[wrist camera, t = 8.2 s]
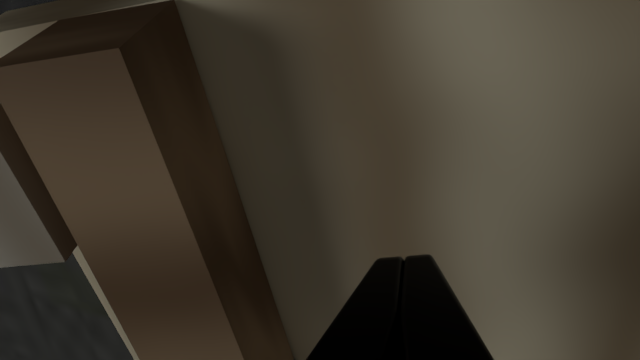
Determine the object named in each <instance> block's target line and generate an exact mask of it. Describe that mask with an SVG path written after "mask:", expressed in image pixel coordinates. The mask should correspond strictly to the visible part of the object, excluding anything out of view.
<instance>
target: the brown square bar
mask: <svg viewBox="0 0 640 360" xmlns="http://www.w3.org/2000/svg"><path fill="white" fill-rule="evenodd" d="M0 103H1V105H2V106H3V108H4V110H5V112H6V114H7V116H8V118H9V119H10V121H11V123H12V125H13V127H14V129H15V130H16V132H17V134H18V136H19V138H20V140H21V142H22V143H23V145H24V147H25V149H26V151H27V153H28V154H29V156H30V158H31V160H32V162H33V164H34V166H35V167H36V169H37V171H38V173H39V175H40V177H41V178H42V180H43V182H44V184H45V186H46V188H47V190H48V191H49V193H50V195H51V197H52V199H53V201H54V203H55V204H56V206H57V208H58V210H59V212H60V214H61V215H62V217H63V219H64V221H65V223H66V225H67V227H68V228H69V230H70V232H71V234H72V236H73V238H74V239H75V241H76V243H77V245H78V247H79V249H80V251H81V252H82V254H83V256H84V258H85V260H86V262H87V263H88V265H89V267H90V269H91V271H92V273H93V275H94V276H95V278H96V280H97V282H98V284H99V286H100V287H101V289H102V291H103V293H104V295H105V297H106V299H107V300H108V302H109V304H110V306H111V308H112V310H113V311H114V313H115V315H116V317H117V319H118V321H119V323H120V324H121V326H122V328H123V330H124V332H125V334H126V335H127V337H128V339H129V341H130V343H131V345H132V347H133V348H134V350H135V352H136V354H137V356H138V358H139V359H140V360H295V359H294V357H293V354H292V351H291V348H290V345H289V342H288V339H287V336H286V333H285V330H284V327H283V324H282V321H281V318H280V315H279V312H278V309H277V306H276V303H275V300H274V297H273V294H272V291H271V288H270V285H269V282H268V279H267V276H266V273H265V270H264V267H263V264H262V261H261V258H260V255H259V252H258V249H257V246H256V243H255V240H254V237H253V234H252V231H251V228H250V225H249V222H248V219H247V216H246V213H245V210H244V207H243V204H242V201H241V198H240V195H239V192H238V189H237V186H236V183H235V180H234V177H233V174H232V171H231V168H230V165H229V162H228V159H227V156H226V153H225V150H224V147H223V144H222V141H221V138H220V135H219V132H218V129H217V126H216V123H215V120H214V117H213V114H212V111H211V108H210V105H209V102H208V99H207V96H206V93H205V90H204V87H203V84H202V81H201V78H200V75H199V72H198V69H197V66H196V63H195V60H194V57H193V54H192V51H191V48H190V45H189V42H188V39H187V36H186V33H185V30H184V27H183V24H182V21H181V18H180V15H179V12H178V9H177V6H176V3H175V0H169V1H163V2H158V3H152V4H146V5H141V6H135V7H129V8H124V9H118V10H112V11H107V12H101V13H95V14H90V15H84V16H78V17H73V18H67V19H61V20H58V21H57V22H55V23H54V24H52V25H51V26H49V27H48V28H46V29H45V30H43V31H41V32H40V33H38V34H37V35H35V36H34V37H32V38H31V39H29V40H28V41H26V42H25V43H23V44H21V45H20V46H18V47H17V48H15V49H14V50H12V51H11V52H9V53H8V54H6V55H5V56H3V57H1V58H0Z"/></svg>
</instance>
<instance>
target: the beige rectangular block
mask: <svg viewBox="0 0 640 360" xmlns="http://www.w3.org/2000/svg"><path fill="white" fill-rule="evenodd" d="M163 1H169V0H57V1H53V2H48V3H43V4H38V5H34V6H29V7H24V8H19V9H15V10H10V11H7V12H5V13H3V14H1V15H0V58H1V57H3V56H5V55H6V54H8V53H9V52H11V51H12V50H14V49H15V48H17V47H18V46H20V45H21V44H23V43H25V42H26V41H28V40H29V39H31V38H32V37H34V36H35V35H37V34H38V33H40V32H41V31H43V30H45V29H46V28H48V27H49V26H51V25H52V24H54V23H55V22H57V21H58V20H61V19H67V18H73V17H78V16H84V15H90V14H95V13H101V12H107V11H112V10H118V9H124V8H129V7H135V6H141V5H146V4H152V3H158V2H163ZM175 3H176V6H177V9H178V12H179V15H180V18H181V21H182V24H183V27H184V30H185V33H186V36H187V39H188V42H189V45H190V48H191V51H192V54H193V57H194V60H195V63H196V66H197V69H198V72H199V75H200V78H201V81H202V84H203V87H204V90H205V93H206V96H207V99H208V102H209V105H210V108H211V111H212V114H213V117H214V120H215V123H216V126H217V129H218V132H219V135H220V138H221V141H222V144H223V147H224V150H225V153H226V156H227V159H228V162H229V165H230V168H231V171H232V174H233V177H234V180H235V183H236V186H237V189H238V192H239V195H240V198H241V201H242V204H243V207H244V210H245V213H246V216H247V219H248V222H249V225H250V228H251V231H252V234H253V237H254V240H255V243H256V246H257V249H258V252H259V255H260V258H261V261H262V264H263V267H264V270H265V273H266V276H267V279H268V282H269V285H270V288H271V291H272V294H273V297H274V300H275V303H276V306H277V309H278V312H279V315H280V318H281V321H282V324H283V327H284V330H285V333H286V336H287V339H288V342H289V345H290V348H291V351H292V354H293V357H294V359H295V360H306V359H307V357H308V356H309V354H310V353H311V351H312V350H313V349H314V347H315V346H316V344H317V343H318V341H319V340H320V339H321V337H322V336H323V334H324V333H325V331H326V330H327V329H328V327H329V326H330V324H331V323H332V322H333V320H334V319H335V317H336V316H337V314H338V313H339V312H340V310H341V309H342V307H343V306H344V304H345V303H346V302H347V300H348V299H349V297H350V296H351V294H352V293H353V292H354V290H355V289H356V287H357V286H358V284H359V283H360V282H361V280H362V279H363V277H364V276H365V275H366V273H367V272H368V270H369V269H370V267H371V266H372V265H373V263H374V262H375V260H377V259H378V258H384V257H397V256H400V257H402V258H403V259H405V258H406V257H407V256H410V255H423V254H429V255H431V256H432V257H433V258H434V259H435V261H436V263H437V264H438V266H439V268H440V269H441V271H442V273H443V274H444V276H445V278H446V280H447V281H448V283H449V285H450V286H451V288H452V290H453V291H454V293H455V295H456V296H457V298H458V300H459V301H460V303H461V305H462V306H463V308H464V310H465V311H466V313H467V315H468V317H469V318H470V320H471V322H472V323H473V325H474V327H475V328H476V330H477V332H478V333H479V335H480V337H481V338H482V340H483V342H484V343H485V345H486V347H487V349H488V350H489V352H490V354H491V355H492V357H493V359H494V360H640V0H175ZM72 253H73V254H74V256H75V258H76V260H77V261H78V263H79V265H80V266H81V268H82V270H83V272H84V273H85V275H86V277H87V279H88V280H89V282H90V284H91V286H92V287H93V289H94V291H95V292H96V294H97V296H98V298H99V299H100V301H101V303H102V305H103V306H104V308H105V310H106V312H107V313H108V315H109V317H110V319H111V320H112V322H113V324H114V325H115V327H116V329H117V331H118V332H119V334H120V336H121V338H122V339H123V341H124V343H125V345H126V346H127V348H128V350H129V351H130V353H131V355H132V357H133V358H134V360H140V359H139V358H138V356H137V354H136V352H135V350H134V348H133V347H132V345H131V343H130V341H129V339H128V337H127V335H126V334H125V332H124V330H123V328H122V326H121V324H120V323H119V321H118V319H117V317H116V315H115V313H114V311H113V310H112V308H111V306H110V304H109V302H108V300H107V299H106V297H105V295H104V293H103V291H102V289H101V287H100V286H99V284H98V282H97V280H96V278H95V276H94V275H93V273H92V271H91V269H90V267H89V265H88V263H87V262H86V260H85V258H84V256H83V254H82V252H81V251H80V249H79V247H78V245H77V243H76V241H75V239H74V238H73V236H72V234H71V232H70V230H69V228H68V227H67V225H66V223H65V221H64V219H63V217H62V215H61V214H60V212H59V210H58V208H57V206H56V204H55V203H54V201H53V199H52V197H51V195H50V193H49V191H48V190H47V188H46V186H45V184H44V182H43V180H42V178H41V177H40V175H39V173H38V171H37V169H36V167H35V166H34V164H33V162H32V160H31V158H30V156H29V154H28V153H27V151H26V149H25V147H24V145H23V143H22V142H21V140H20V138H19V136H18V134H17V132H16V130H15V129H14V127H13V125H12V123H11V121H10V119H9V118H8V116H7V114H6V112H5V110H4V108H3V106H2V105H1V103H0V268H1V267H13V266H24V265H35V264H47V263H58V262H66V260H67V259H68V258H69V256H70V255H71V254H72Z"/></svg>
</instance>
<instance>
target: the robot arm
mask: <svg viewBox="0 0 640 360" xmlns="http://www.w3.org/2000/svg"><path fill="white" fill-rule="evenodd" d="M306 360H494V359H493V357H492V355H491V354H490V352H489V350H488V349H487V347H486V345H485V343H484V342H483V340H482V338H481V337H480V335H479V333H478V332H477V330H476V328H475V327H474V325H473V323H472V322H471V320H470V318H469V317H468V315H467V313H466V311H465V310H464V308H463V306H462V305H461V303H460V301H459V300H458V298H457V296H456V295H455V293H454V291H453V290H452V288H451V286H450V285H449V283H448V281H447V280H446V278H445V276H444V274H443V273H442V271H441V269H440V268H439V266H438V264H437V263H436V261H435V259H434V258H433V257H432V256H431V255H429V254H423V255H410V256H407V257H406V258H405V259H403V258H402V257H400V256H397V257H384V258H378V259H377V260H375V262H374V263H373V265H372V266H371V267H370V269H369V270H368V272H367V273H366V275H365V276H364V277H363V279H362V280H361V282H360V283H359V284H358V286H357V287H356V289H355V290H354V292H353V293H352V294H351V296H350V297H349V299H348V300H347V302H346V303H345V304H344V306H343V307H342V309H341V310H340V312H339V313H338V314H337V316H336V317H335V319H334V320H333V322H332V323H331V324H330V326H329V327H328V329H327V330H326V331H325V333H324V334H323V336H322V337H321V339H320V340H319V341H318V343H317V344H316V346H315V347H314V349H313V350H312V351H311V353H310V354H309V356H308V357H307V359H306Z"/></svg>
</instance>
